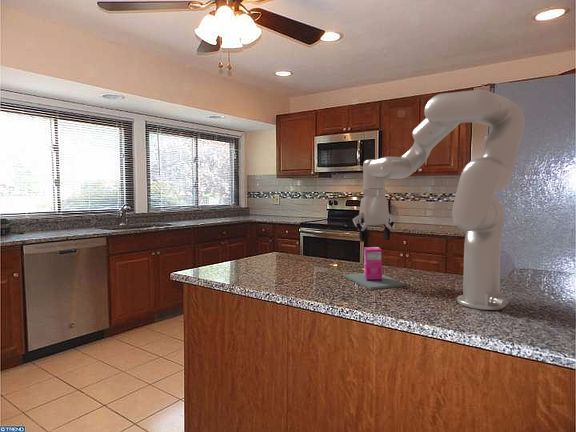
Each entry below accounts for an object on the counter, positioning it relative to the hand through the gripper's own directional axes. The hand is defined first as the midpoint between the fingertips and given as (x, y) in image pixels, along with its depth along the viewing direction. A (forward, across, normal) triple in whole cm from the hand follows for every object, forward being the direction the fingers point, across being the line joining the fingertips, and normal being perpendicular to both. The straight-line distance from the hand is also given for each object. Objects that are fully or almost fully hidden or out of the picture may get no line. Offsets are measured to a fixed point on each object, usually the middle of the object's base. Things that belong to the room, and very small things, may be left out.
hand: (374, 240), depth 139 cm
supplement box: (+14, +1, -1) cm, 14 cm away
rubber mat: (+15, 0, -1) cm, 15 cm away
